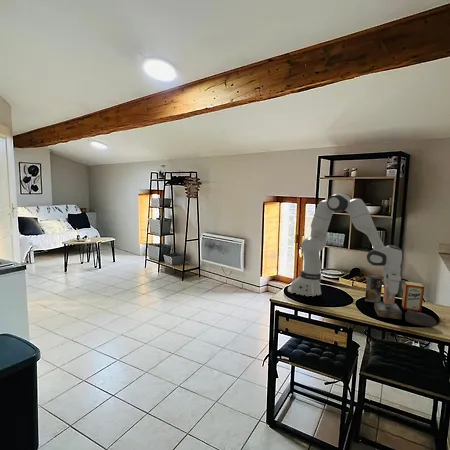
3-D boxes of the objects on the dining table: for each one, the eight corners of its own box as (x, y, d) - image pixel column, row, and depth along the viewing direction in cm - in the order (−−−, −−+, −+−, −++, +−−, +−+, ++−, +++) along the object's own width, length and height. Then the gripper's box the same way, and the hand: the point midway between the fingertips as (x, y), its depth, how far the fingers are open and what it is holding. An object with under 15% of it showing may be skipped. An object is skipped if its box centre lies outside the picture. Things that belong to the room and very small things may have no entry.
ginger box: (418, 308, 200) (421, 283, 198) (421, 311, 194) (424, 286, 192) (401, 305, 203) (404, 280, 201) (403, 309, 197) (406, 284, 195)
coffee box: (380, 300, 211) (383, 276, 208) (380, 303, 205) (382, 279, 203) (365, 297, 215) (367, 274, 213) (364, 300, 209) (366, 276, 207)
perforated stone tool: (435, 326, 175) (437, 314, 174) (436, 330, 170) (438, 317, 169) (404, 319, 182) (405, 308, 181) (403, 323, 177) (405, 311, 176)
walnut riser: (378, 316, 185) (378, 309, 185) (374, 307, 199) (374, 301, 198) (401, 319, 182) (402, 312, 182) (395, 310, 196) (396, 303, 195)
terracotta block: (384, 303, 188) (386, 286, 186) (382, 300, 193) (384, 284, 191) (394, 304, 187) (395, 287, 185) (392, 301, 191) (393, 285, 190)
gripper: (382, 268, 198) (379, 290, 200) (389, 277, 178) (386, 301, 180) (393, 269, 196) (391, 291, 198) (401, 279, 177) (399, 303, 179)
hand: (389, 296), depth 189 cm, fingers closed on terracotta block, 5 cm apart
